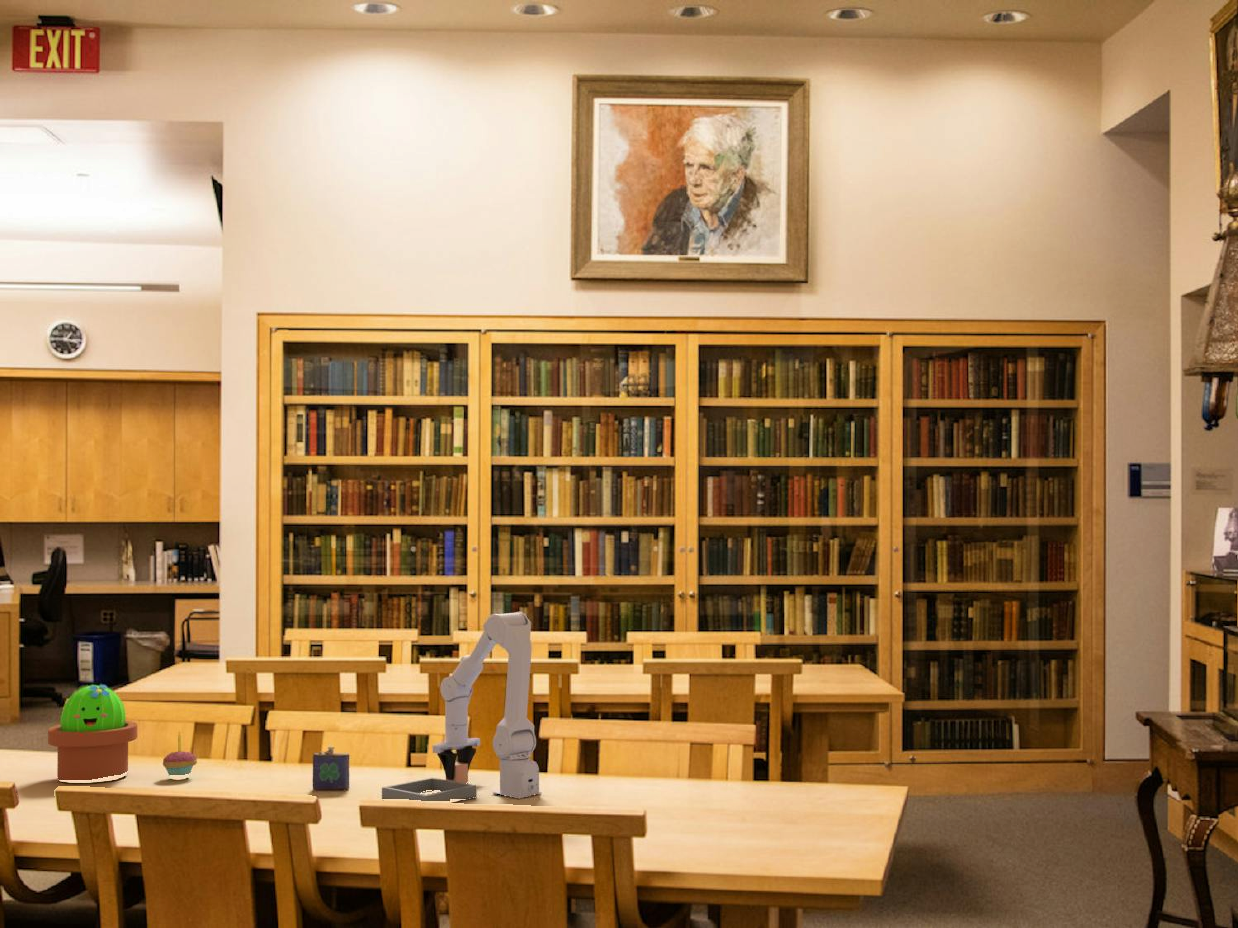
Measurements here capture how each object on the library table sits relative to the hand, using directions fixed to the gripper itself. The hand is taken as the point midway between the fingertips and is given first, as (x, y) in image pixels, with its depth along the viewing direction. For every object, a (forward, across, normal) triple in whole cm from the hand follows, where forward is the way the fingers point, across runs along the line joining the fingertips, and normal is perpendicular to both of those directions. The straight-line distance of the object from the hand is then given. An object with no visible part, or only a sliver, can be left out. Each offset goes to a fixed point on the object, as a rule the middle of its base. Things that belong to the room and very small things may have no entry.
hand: (456, 777), depth 350 cm
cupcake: (+2, +41, -62) cm, 74 cm away
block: (+1, 0, 0) cm, 1 cm away
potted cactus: (+2, +55, -81) cm, 98 cm away
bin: (+1, +17, +9) cm, 19 cm away
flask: (+2, +25, -19) cm, 31 cm away
